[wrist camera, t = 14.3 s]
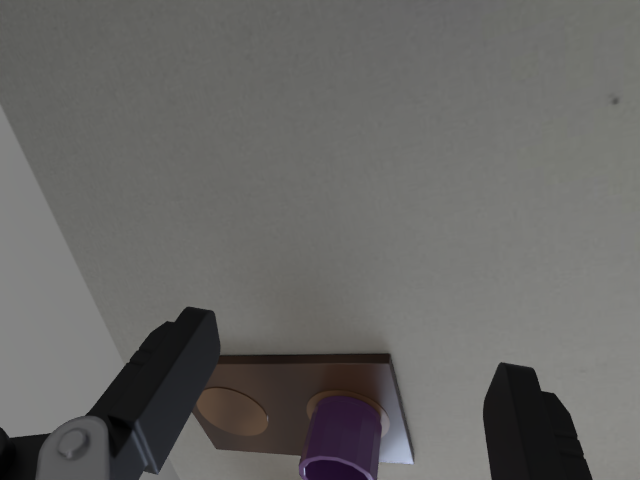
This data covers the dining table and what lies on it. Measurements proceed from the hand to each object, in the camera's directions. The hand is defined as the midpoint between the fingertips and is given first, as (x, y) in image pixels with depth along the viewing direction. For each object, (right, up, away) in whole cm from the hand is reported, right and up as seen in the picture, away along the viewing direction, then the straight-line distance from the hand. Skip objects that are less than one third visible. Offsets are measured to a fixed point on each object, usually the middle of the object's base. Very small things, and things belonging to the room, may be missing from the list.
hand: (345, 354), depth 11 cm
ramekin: (+2, -13, +24) cm, 27 cm away
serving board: (-4, -13, +27) cm, 30 cm away
